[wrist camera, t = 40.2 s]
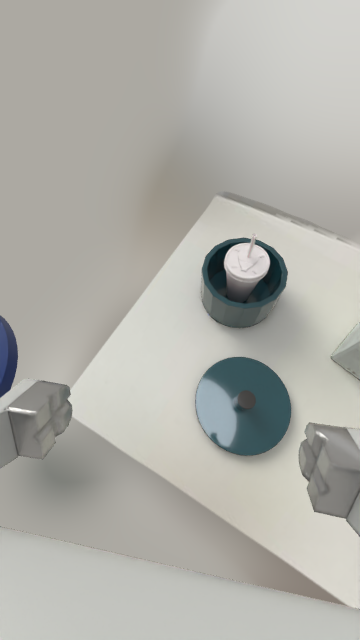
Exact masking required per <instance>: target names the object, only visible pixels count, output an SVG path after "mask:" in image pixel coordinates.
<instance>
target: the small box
mask: <svg viewBox="0 0 360 640" xmlns="http://www.w3.org/2000/svg"><path fill="white" fill-rule="evenodd" d="M331 359H333V360H334V361H335V362H337V363H338V364H339V365H341V366H342V367H343V368H345V369H346V370H347V371H349V372H350V373H351V374H353V375H354V376H355V377H357V378H358V379H359V380H360V323H358V324H357V325H356V326H355V327H354V328H353V330H352V331H351V332H350V333H349V334H348V336H347V337H346V338H345V339H344V341H343V342H342V343H341V344H340V346H339V347H338V348H337V349H336V351H335V352H334V353H333V355H332V356H331Z"/></svg>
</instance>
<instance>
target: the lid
mask: <svg viewBox="0 0 360 640" xmlns="http://www.w3.org/2000/svg"><path fill="white" fill-rule="evenodd" d="M195 403H196V412H197V416H198V419H199V422H200V424H201V426H202V428H203V430H204V431H205V433H206V434H207V435H208V437H209V438H210V439H211V440H212V441H213V442H214V443H215V444H217V445H218V446H219V447H221V448H223V449H224V450H226V451H229V452H231V453H234V454H238V455H246V456H247V455H257V454H261V453H264V452H266V451H268V450H270V449H272V448H273V447H274V446H276V445H277V444H278V443H279V442H280V441H281V439H282V438H283V436H284V435H285V433H286V431H287V429H288V426H289V423H290V418H291V403H290V399H289V395H288V392H287V390H286V388H285V385H284V384H283V382H282V381H281V379H280V378H279V377H278V375H277V374H276V373H275V372H274V371H273V370H272V369H270V368H269V367H268V366H266V365H265V364H263V363H261V362H259V361H257V360H254V359H251V358H246V357H232V358H227V359H224V360H222V361H219V362H217V363H216V364H214V365H213V366H212V367H210V368H209V369H208V370H207V371H206V373H205V374H204V375H203V377H202V378H201V380H200V382H199V385H198V388H197V392H196V400H195Z"/></svg>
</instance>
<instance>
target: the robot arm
mask: <svg viewBox="0 0 360 640" xmlns="http://www.w3.org/2000/svg"><path fill="white" fill-rule="evenodd" d="M70 395H71V394H70V388H69V386H67V385H64V384H58V383H53V382H47V381H40V380H35V379H24V380H22V381H21V382H20V383H19V384H17V385H16V386H15V387H14V388H12V389H11V390H10V391H8V392H7V393H6V394H5V395H3V396H2V397H1V398H0V468H2V467H3V466H5V465H7V464H8V463H10V462H11V461H13V460H14V459H16V458H17V457H18V456H24V457H30V458H37V459H44V457H45V456H46V455H47V453H48V452H49V451H50V450H51V448H52V447H53V446H54V444H55V443H56V442H55V437H56V436H57V435H59V434H61V433H63V432H64V431H65V429H66V428H67V427H68V425H69V422H70V420H71V417H72V405H71V403H70V402H69V401H68V400H67V399H68V397H69V396H70ZM305 434H306V437H307V439H306V440H304V441H303V442H301V445H300V449H299V465H300V469H301V472H302V475H303V476H304V477H305V478H306V479H307V480H308V481H309V484H308V486H307V491H308V494H309V497H310V500H311V503H312V506H313V509H314V512H318V513H323V514H327V515H332V516H336V517H341V518H345V519H346V521H347V522H348V523H349V524H350V526H351V527H352V528H353V529H354V530H355V532H356V533H357V534H358V535H359V536H360V429H355V428H347V427H337V426H331V425H324V424H317V423H310V422H309V423H308V425H307V426H306V429H305ZM0 640H360V609H357V608H353V607H349V606H344V605H340V604H336V603H330V602H326V601H322V600H318V599H314V598H309V597H305V596H301V595H296V594H292V593H287V592H283V591H279V590H275V589H270V588H266V587H262V586H257V585H252V584H248V583H244V582H240V581H235V580H231V579H227V578H222V577H218V576H214V575H209V574H205V573H201V572H196V571H191V570H188V569H183V568H179V567H174V566H170V565H166V564H162V563H157V562H153V561H149V560H144V559H140V558H136V557H131V556H127V555H123V554H118V553H113V552H110V551H105V550H101V549H96V548H92V547H88V546H84V545H79V544H75V543H70V542H66V541H62V540H57V539H53V538H48V537H44V536H40V535H36V534H31V533H27V532H23V531H18V530H13V529H9V528H5V527H1V526H0Z"/></svg>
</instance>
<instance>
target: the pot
mask: <svg viewBox="0 0 360 640" xmlns="http://www.w3.org/2000/svg"><path fill="white" fill-rule="evenodd" d="M250 242H251V239H248V238H238V239H230V240H227V241H225V242H223V243H220V244H218V245H216V246H215V247H214V248H213V249H212V250H211V251H210V252H209V253H208V254H207V255H206V257H205V260H204V264H203V267H202V278H201V295H202V302H203V305H204V307H205V309H206V311H207V312H208V313H209V315H210V316H211V317H212V318H213V319H215V320H216V321H218V322H219V323H221V324H223V325H226V326H229V327H234V328H245V327H250V326H253V325H255V324H258V323H259V322H261V321H262V320H263V319H265V318H266V317H267V315H268V314H269V313H270V311H271V310H272V308H273V307H274V305H275V304H276V302H277V300H278V299H279V297H280V295H281V294H282V292H283V290H284V289H285V287H286V281H287V275H288V272H287V269H286V266H285V263H284V260H283V258H282V257H281V256H280V255H279V254H278V253H277V251H276V250H275V249H274V248H272V247H271V246H269V245H267V244H265V243H263V242H261V241H259V240H256V241H255V245H258V246H260V247H261V248H263V249H264V250H265V251H266V252H267V254H268V256H269V259H270V266H269V269H268V272H267V274H266V275H265V276H264V277H263V278H262V279H260V280H259V282H258V283H257V285H256V286H255V288H254V289H253V291H252V292H251V294H250V295H249V297H248V298H247V300H246V301H244V302H243V303H239V302H235V301H230V300H229V298H228V297H227V276H226V270H225V267H224V260H225V256H226V254H227V252H228V251H229V249H231V248H232V247H233V246H235V245H237V244H241V243H250Z"/></svg>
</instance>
